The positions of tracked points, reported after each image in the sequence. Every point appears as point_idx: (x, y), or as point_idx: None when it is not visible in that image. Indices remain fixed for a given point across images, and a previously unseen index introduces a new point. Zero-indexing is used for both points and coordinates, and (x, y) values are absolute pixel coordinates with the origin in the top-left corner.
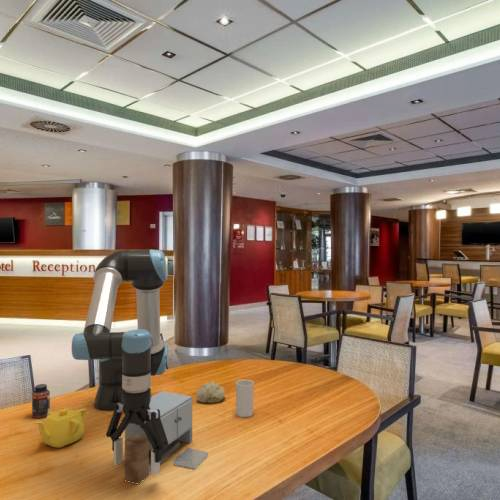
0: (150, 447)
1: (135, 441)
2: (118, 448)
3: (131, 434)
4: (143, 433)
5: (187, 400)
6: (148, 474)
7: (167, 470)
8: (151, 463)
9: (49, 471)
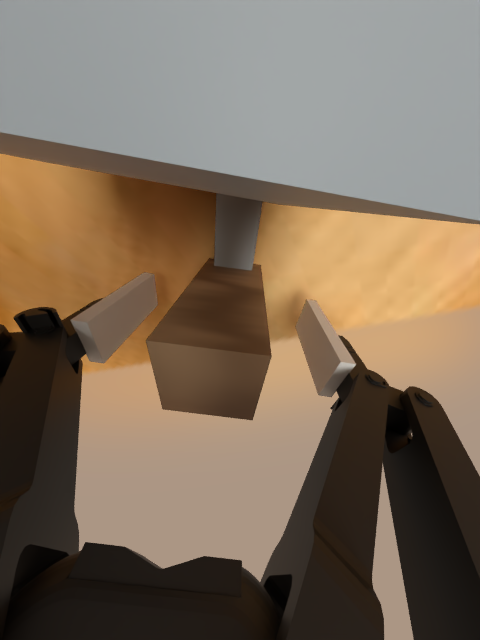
0: (225, 194)
1: (224, 409)
2: (124, 324)
3: (20, 156)
4: (128, 175)
5: None
6: (260, 267)
7: (313, 210)
8: (305, 353)
9: (8, 309)
